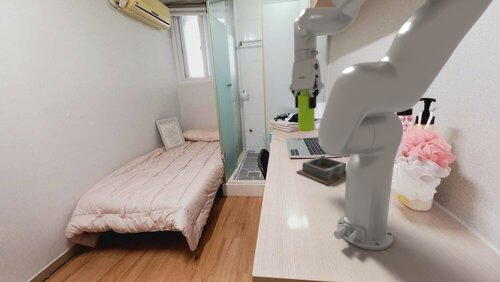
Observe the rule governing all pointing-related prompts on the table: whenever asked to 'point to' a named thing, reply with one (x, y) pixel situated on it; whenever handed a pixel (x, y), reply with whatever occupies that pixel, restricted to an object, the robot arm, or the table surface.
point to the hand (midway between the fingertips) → (305, 107)
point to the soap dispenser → (305, 112)
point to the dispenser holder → (324, 170)
